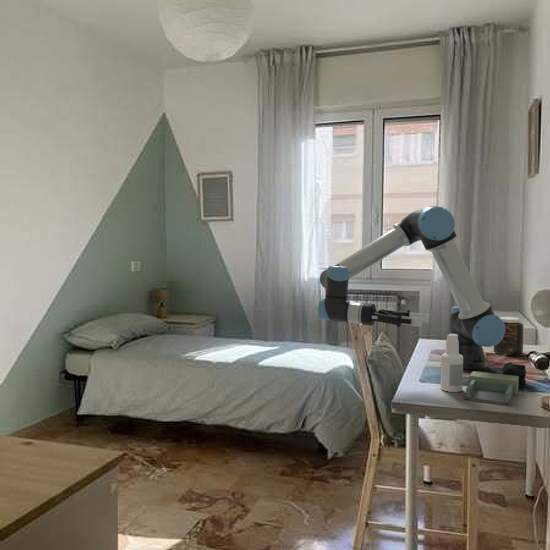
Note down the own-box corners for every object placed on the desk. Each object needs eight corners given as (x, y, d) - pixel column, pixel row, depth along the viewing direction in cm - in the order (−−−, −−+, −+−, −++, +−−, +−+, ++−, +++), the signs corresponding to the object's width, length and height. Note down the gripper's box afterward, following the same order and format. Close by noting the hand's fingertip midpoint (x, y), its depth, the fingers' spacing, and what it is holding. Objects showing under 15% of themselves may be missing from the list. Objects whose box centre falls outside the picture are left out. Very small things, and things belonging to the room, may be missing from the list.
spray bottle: (460, 393, 172) (461, 337, 171) (438, 390, 176) (439, 335, 174) (464, 388, 178) (465, 333, 177) (443, 385, 182) (444, 332, 180)
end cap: (502, 380, 189) (502, 361, 188) (524, 382, 186) (525, 362, 186) (501, 387, 180) (502, 367, 179) (525, 390, 177) (526, 369, 176)
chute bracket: (472, 384, 183) (473, 371, 183) (518, 389, 177) (518, 376, 176) (462, 399, 166) (462, 384, 166) (512, 405, 160) (512, 390, 159)
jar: (524, 356, 227) (525, 320, 226) (494, 354, 231) (495, 319, 230) (521, 351, 238) (522, 316, 237) (492, 349, 242) (493, 315, 241)
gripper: (370, 320, 200) (430, 327, 191) (351, 328, 177) (418, 336, 168) (372, 300, 199) (432, 305, 191) (353, 305, 176) (420, 312, 168)
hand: (425, 320), depth 179 cm, fingers open, 13 cm apart
